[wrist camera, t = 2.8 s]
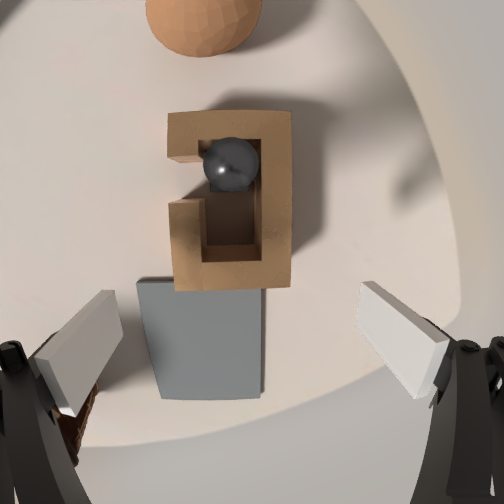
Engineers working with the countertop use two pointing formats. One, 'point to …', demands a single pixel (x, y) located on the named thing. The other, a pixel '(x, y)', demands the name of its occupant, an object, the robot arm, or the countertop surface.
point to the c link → (265, 203)
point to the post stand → (230, 165)
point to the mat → (203, 341)
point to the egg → (202, 24)
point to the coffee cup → (75, 425)
